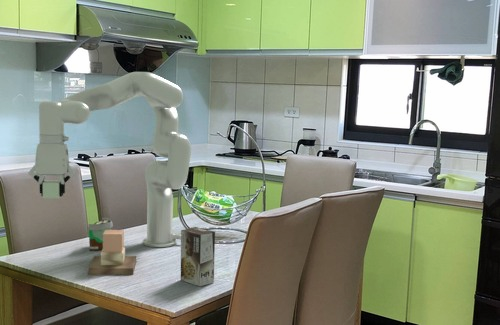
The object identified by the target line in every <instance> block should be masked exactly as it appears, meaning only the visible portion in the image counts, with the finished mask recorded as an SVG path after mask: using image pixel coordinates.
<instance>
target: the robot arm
mask: <svg viewBox="0 0 500 325" xmlns="http://www.w3.org/2000/svg"><path fill="white" fill-rule="evenodd" d="M137 97H144V98H145V101H146V103H148V105H149V106H150V107H151V109H152V111H153V113H154V115H155V116H154V117H155V126H154V134H153V142H152V151H153V153H154V154H155V155H156V156H158V157H160V158H161V157H162V158H166V159H167V161H166V160H154V161H153V160H152V161H151V162H150V163H149V164H147V166H146V168H145V171H144V172H145V173H144V177H145V183H146V189H147V190H146V191H147V192H146V193H147V199H146V200H147V204H146V206H147V208H146V210H147V212H146V219H147V220H146V237H145V238H144V239H142V244H143V245H144V246H147V247H151V248H167V247H172V246H174V245H176V244H177V240H181V233H175V232H174V230H173V221H174V220H173V218H174V216H173V213H174V211H173V210H174V196H173V190H179V189H181V188H183V187H184V185H185V184H186V182H187V180H188V176H189V170H190V169H189V168H190V162H191V155H192V154H191V153H192V147H191V142H190V139H189V138H188V137H187V136H186V135H184V134H182V133H179V123H180V122H179V114H178V111H177V108H179V106H181V104H182V103H183V101H184V93H183V90H182V89H181V88H180V87H179V86H178V85H177V84H175V83H173V82H171V81H169V80H167V79H164V78H163V77H161V76H159V75H157V74H155V73H152V72H149V71H133V72H129V73H126V74H124V75H122V76H119V77H117V78H115V79H113V80H110V81H108V82H106V83H104V84H101V85H97V86H95V87H92V88H91V87H90V88H88V89H86V90H82V91H78V92H75V93H74V94H70V95H69V96H67V97H64V98H62V99H60V100H59V101H52V100H47V101H41V102H40V103H39V104H38V105H39V106H38V123H39V124H38V125H39V127H38V130H39V137H38V138H39V143H37V145H36V149H35V150H36V152H35V160H34V161H35V162H34V165H33V167H31V169H30V170H29V171H28V175H29V176H31V178H33V179H34V180H35V181H36V182H37V183H38V184H39V194H41V195H40V196H41V197H43V182H44V181H45V180H46V179H45V178H46V176H58V178H59V180H60V185H59V195H60V196H61V197H63V196H64V194H66V183H67V182H68V181H69V180H70V179H71V178H72V177H74V176H75V175H76V171H75V169H73V168H72V166H71V165H70V158H69V157H70V156H69V155H70V154H69V150H68V144H67V143H65V142H69V141H70V140H69V139H70V137H69V136H66V135H65V124H70V125H71V124H72V125H81V124H84V123H85V122H87V121H88V120H89V118H90V115H91V112H93V111H94V112H95V111H100V110H109V109H112V108H116V107H118V106H120V105H122V104H124V103H126V102H128V101H130V100H133V99H134V98H137ZM67 173H69V174H67ZM65 175H66V176H65Z"/></svg>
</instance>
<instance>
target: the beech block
mask: <svg viewBox="0 0 500 325" xmlns="http://www.w3.org/2000/svg"><path fill="white" fill-rule="evenodd" d="M100 256H101V265H123V263H124V260H125V256H126V247H125V246H124V248H123V251H122V252H103V249H102V251H100Z"/></svg>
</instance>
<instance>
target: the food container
mask: <svg viewBox="0 0 500 325" xmlns="http://www.w3.org/2000/svg"><path fill="white" fill-rule="evenodd" d="M101 219H102V220H100V221H95V223H92V224H90V223H88V228H87V230H88V238H89V241H88V242H89V252H101V250H102V249H103V233H104V231H105V230H112V228H113V227H114V225H113V221H112V220H111V218H108V217H102V218H101Z"/></svg>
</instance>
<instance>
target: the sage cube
mask: <svg viewBox="0 0 500 325" xmlns="http://www.w3.org/2000/svg"><path fill="white" fill-rule="evenodd" d="M59 185H60V179H59V180H56V179H55V180H54V179H49V180H48V179H45V180H44V182H43V196H42V199H60V198H61V197H62V196H60V195H59Z"/></svg>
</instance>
